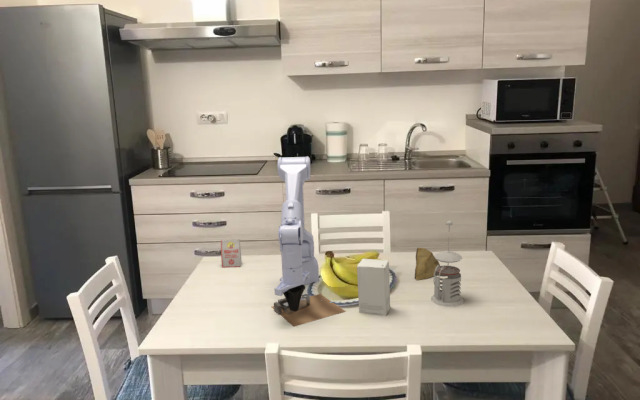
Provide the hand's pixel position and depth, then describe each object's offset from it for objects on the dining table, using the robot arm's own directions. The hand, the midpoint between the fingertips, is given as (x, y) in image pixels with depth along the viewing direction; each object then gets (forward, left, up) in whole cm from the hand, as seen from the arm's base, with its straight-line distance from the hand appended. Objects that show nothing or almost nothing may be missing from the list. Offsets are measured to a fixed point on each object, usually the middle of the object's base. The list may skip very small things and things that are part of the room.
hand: (294, 310), depth 150 cm
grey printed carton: (0, -51, -3) cm, 51 cm away
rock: (-53, -3, -3) cm, 53 cm away
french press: (-44, +15, -3) cm, 47 cm away
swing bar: (-3, -3, -1) cm, 4 cm away
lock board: (-5, -1, -2) cm, 6 cm away
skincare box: (-21, +10, -3) cm, 23 cm away
